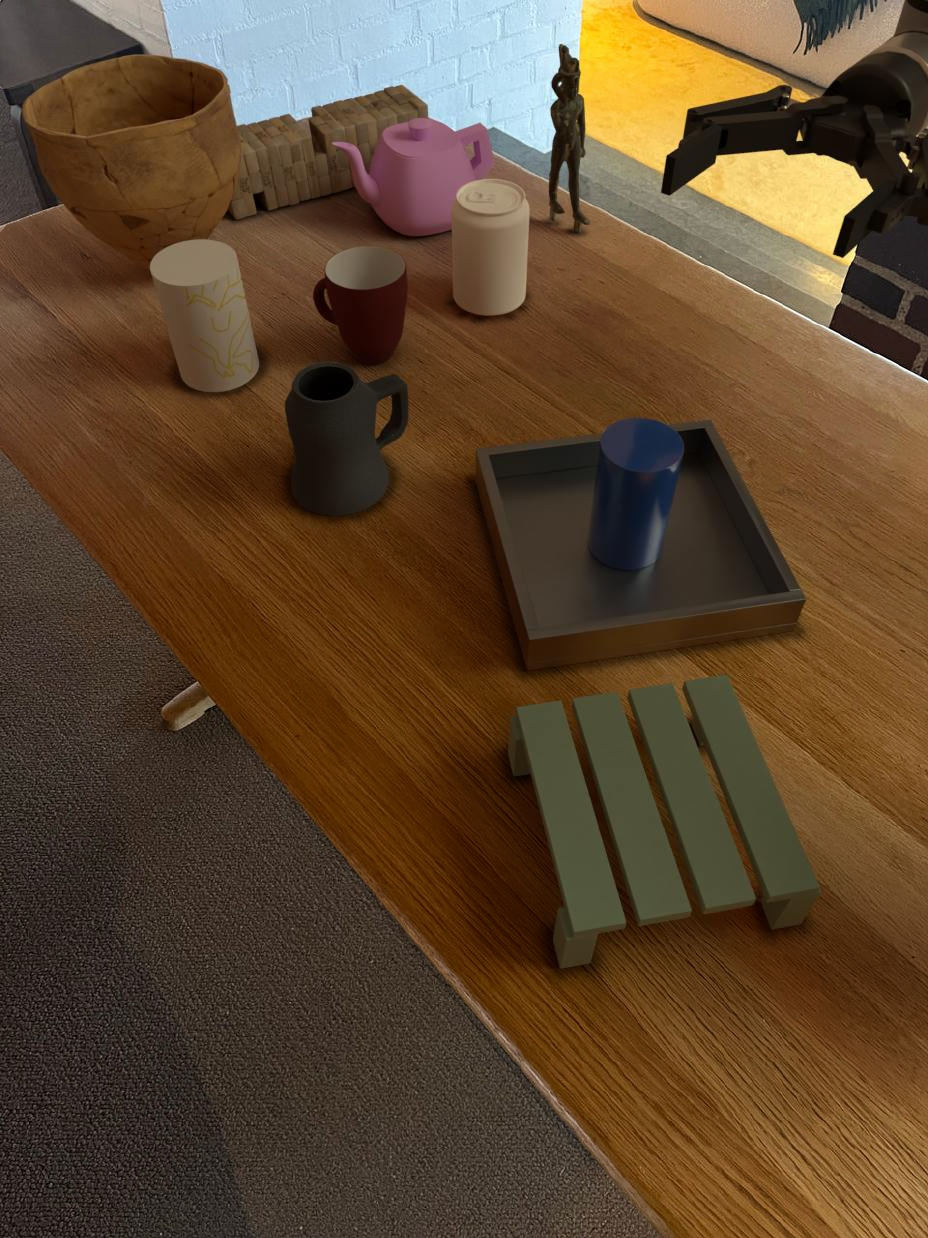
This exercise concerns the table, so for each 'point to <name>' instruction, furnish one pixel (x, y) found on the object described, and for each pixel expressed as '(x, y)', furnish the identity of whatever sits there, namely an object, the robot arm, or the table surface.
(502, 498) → the tray
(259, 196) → the block tower
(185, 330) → the cream marbled cylinder
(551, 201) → the statue
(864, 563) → the table surface
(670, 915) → the rack
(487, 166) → the teapot
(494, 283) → the beverage can
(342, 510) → the mug
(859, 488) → the table surface
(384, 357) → the mug
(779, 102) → the robot arm
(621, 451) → the navy blue cylinder
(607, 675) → the table surface
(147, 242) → the bowl
